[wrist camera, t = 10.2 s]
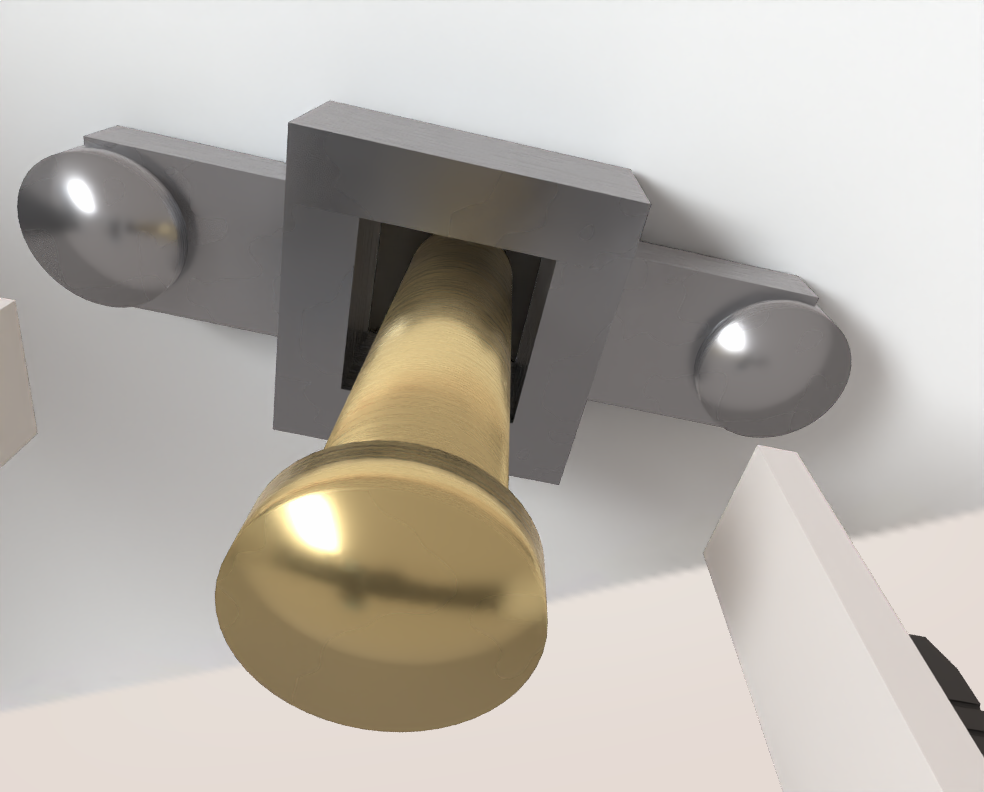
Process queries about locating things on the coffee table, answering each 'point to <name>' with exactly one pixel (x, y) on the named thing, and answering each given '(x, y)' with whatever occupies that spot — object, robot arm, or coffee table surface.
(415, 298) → the pin
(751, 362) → the chain ends
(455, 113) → the coffee table surface
